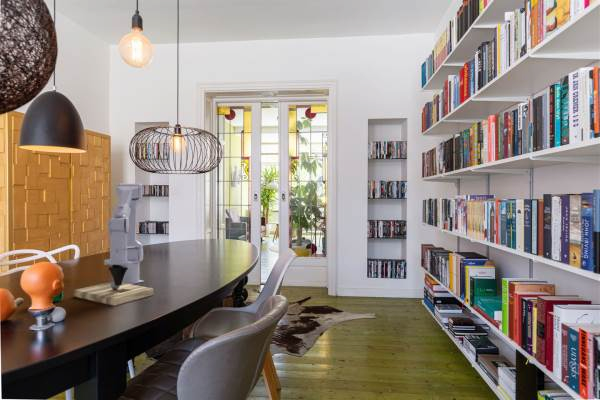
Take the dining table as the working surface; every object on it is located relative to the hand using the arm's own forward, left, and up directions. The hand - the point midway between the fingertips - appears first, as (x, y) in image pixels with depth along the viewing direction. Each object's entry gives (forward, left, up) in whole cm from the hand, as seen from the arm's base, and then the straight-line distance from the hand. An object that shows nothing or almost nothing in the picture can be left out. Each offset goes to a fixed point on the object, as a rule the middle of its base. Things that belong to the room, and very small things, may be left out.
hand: (118, 285), depth 134 cm
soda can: (-15, -15, -5) cm, 21 cm away
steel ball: (-2, 0, 0) cm, 2 cm away
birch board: (-3, 0, -4) cm, 5 cm away
